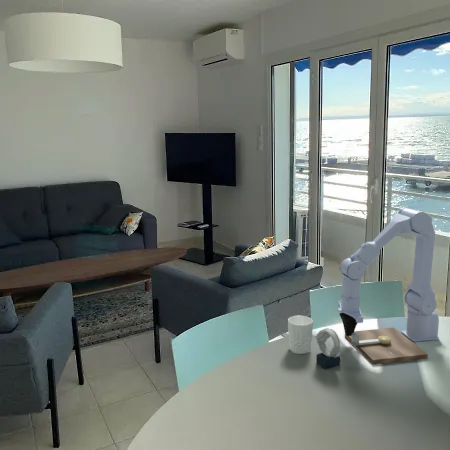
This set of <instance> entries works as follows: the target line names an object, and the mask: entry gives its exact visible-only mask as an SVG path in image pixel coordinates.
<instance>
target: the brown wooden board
mask: <svg viewBox="0 0 450 450" xmlns="http://www.w3.org/2000/svg"><path fill="white" fill-rule="evenodd" d="M354 333H357V334H359V341H361V340H371V339H378V337H379V336H387V337H389V338H391V343H390V344H381V343H376V344H366V345H359V346H354V347H355V348H356V350H358V351H359V352H360V353H361V354H362V355H363V357H364V358H365V359H367V360H368V362H369V363H371V364H372V365H382V364H389V363H390V364H393V363H398V362H399V363H400V362H407V361H408V362H410V361H417V360H418V361H419V360H427V359H428V358H429V357H428V356H429V354H428V353H427V352H426V351H425V350H423V349H422V348H421V347H419V346H418V345H417V344H416V343H415V342H414V341H412V340H411V339H409V338H408V337H407V336H405V335H404V334H403V333H402V332H401V331H399V330H397V329H396V328H395V327H386V328H375V329H373V328H372V329H363V330H354ZM344 337H345V338H346V340H348V341H349V343H351V339H352V336H346V334H345V333H344Z"/></svg>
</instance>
